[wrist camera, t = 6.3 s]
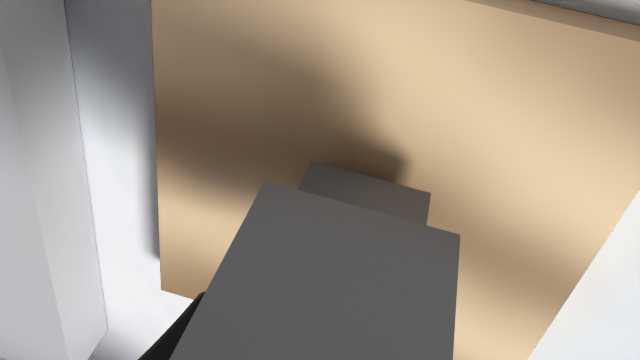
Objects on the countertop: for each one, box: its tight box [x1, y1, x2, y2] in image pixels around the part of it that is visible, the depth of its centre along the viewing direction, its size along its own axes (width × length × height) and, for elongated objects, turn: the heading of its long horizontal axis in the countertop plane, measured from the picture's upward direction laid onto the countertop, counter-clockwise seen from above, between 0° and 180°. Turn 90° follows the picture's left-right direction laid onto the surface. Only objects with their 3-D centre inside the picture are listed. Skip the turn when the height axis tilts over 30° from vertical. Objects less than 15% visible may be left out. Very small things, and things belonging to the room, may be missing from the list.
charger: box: [169, 161, 460, 360], centre depth 12 cm, size 5×4×8 cm
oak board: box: [151, 0, 640, 360], centre depth 16 cm, size 12×12×1 cm
